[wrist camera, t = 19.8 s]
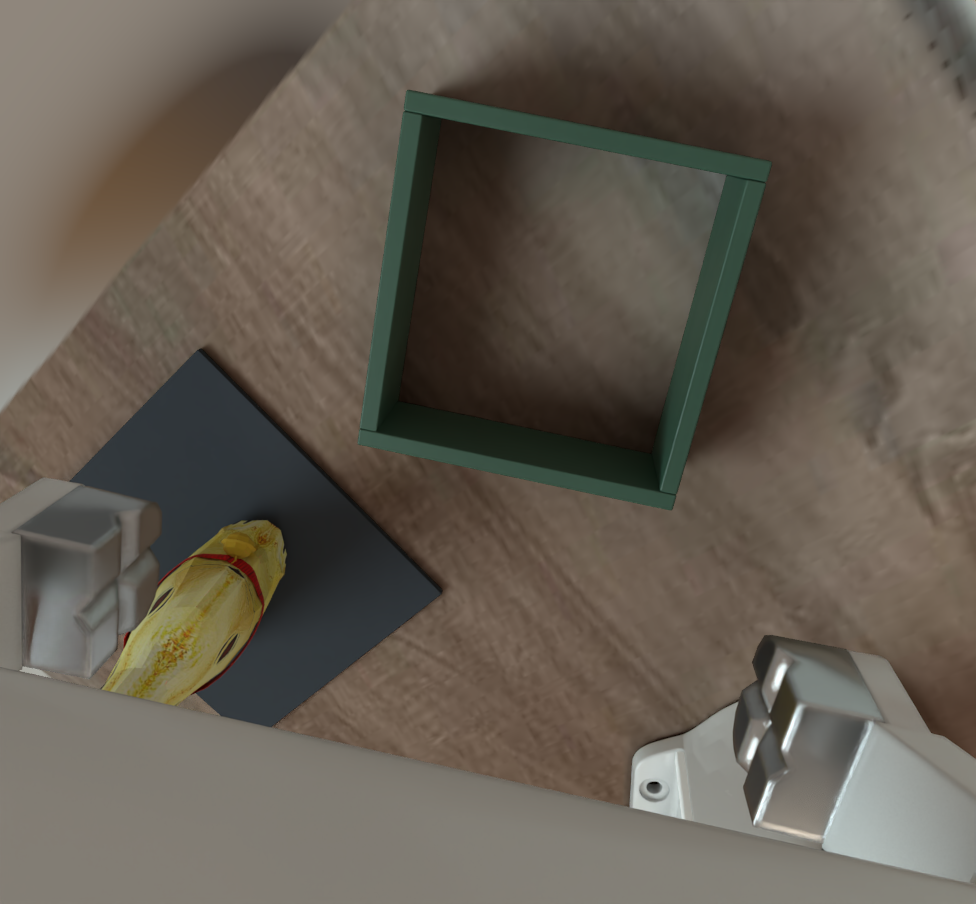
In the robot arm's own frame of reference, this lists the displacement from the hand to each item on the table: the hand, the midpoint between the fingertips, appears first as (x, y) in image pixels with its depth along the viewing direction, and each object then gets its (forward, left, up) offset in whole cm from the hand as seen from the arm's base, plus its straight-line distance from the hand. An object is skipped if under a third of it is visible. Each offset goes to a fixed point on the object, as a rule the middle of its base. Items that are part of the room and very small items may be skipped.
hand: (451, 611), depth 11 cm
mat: (-19, +14, -31) cm, 39 cm away
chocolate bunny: (-19, +14, -31) cm, 39 cm away
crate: (-1, -1, -31) cm, 31 cm away
